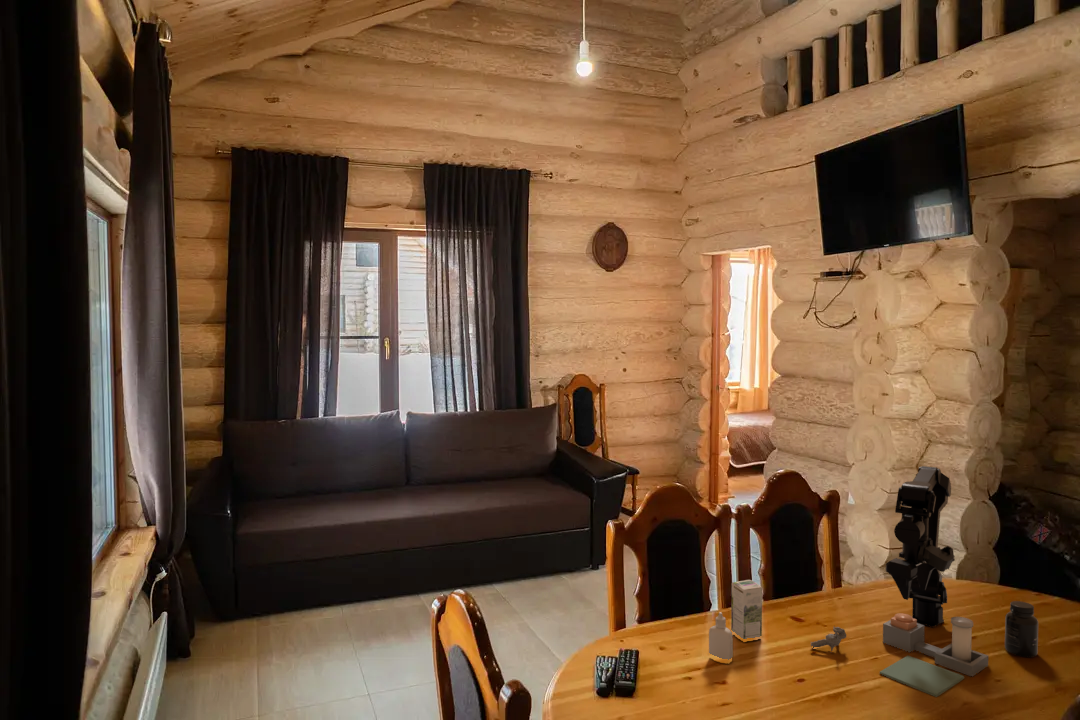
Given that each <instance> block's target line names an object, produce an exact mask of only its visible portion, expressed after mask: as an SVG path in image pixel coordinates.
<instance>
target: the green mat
mask: <svg viewBox="0 0 1080 720" xmlns="http://www.w3.org/2000/svg"><path fill="white" fill-rule="evenodd" d="M880 674H882V675H881V676H883V675H884V676H883V677H885V676H886V678H888V679H890V678H891V680H893V681H895V680H896V681H895V682H898V683H900V684H903V685H905V684H906V686H908V687H910V688H913V689H916V690H918V691H920V692H923V693H925V694H928V695H931V696H933V697H935V698H937V697H939V696H940V695H942V694H943V693H945V692H947V691H948V690H949V689H951V688H953V687H955V685H957V684H958V683H960V682H961V681H963V680H964V679H965V676H964V675H962V674H960V673H957V672H954V671H953V670H948V669H946V668H943V667H941V666H939V665H935V664H932V663H929V662H927V661H924V660H922V659H919V658H917V657H913V656H911V655H906V656H904V657H903V658H901V659H899V660H897V661H896V662H894V663H892V664H890V665H888V666H887V667H884V669H882V670H880V671H879V675H880Z"/></svg>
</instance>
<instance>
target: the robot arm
mask: <svg viewBox="0 0 1080 720" xmlns="http://www.w3.org/2000/svg"><path fill="white" fill-rule="evenodd" d="M951 495H952V484H951V479H950V477H949V476H947V475H945V474H944V473H943V472H942V471H941V468H938V467H935V466H927V465H926V466H925V465H922V466H918V471H917V472H916V474H915V477H914V478H913V480H910V481H904V482H903V483H902V485H901V486H899V487H898V490H897V497H896V502H895V511H894V512H895V514H896V513H897V514H901V519H900V520H899V521H898V523H897V524H896V525H895V527H894V529H893V532H894V536H895V538H896V539H897V540H898V541H899V542H900V543H902V551H901V552H899V553H898V557H896V558H893V559H891V560H888V561H887V562H886V563H885V572H886V573H888V575H890V576H891V578H892V579H893V582H894V583H895V585H896V586H897V588H898V591H899V593H900V594H901V597H902V598H903V600H907V601H908V600H909V599H912V612H911V613H912V614H911V616H912V618H914V619H917V623H918V624H921V625H924V626H926V627H930V628H935V627H937V626H938V625H940V624H942V623H944V621H945V619H944V607H943V606H942V605H944V604H948V593H947V588H946V585H945V582H944V581H943V575H942V574H941V572H942V573H943V572H945V571H947V570H949V569H950V568H951V566H952V563H953V562H955V561H956V560H955V555H954V548H952V547H951V546H949V545H947V546H944V547H942V548H941V547H940V546H939V536H940V524H941V523H940V521H941V512H942V510H944V508H945V507H946V506H947V505H948V502H949V498H950V497H951ZM901 558H902V559H901Z"/></svg>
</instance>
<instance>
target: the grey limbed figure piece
mask: <svg viewBox="0 0 1080 720" xmlns="http://www.w3.org/2000/svg"><path fill="white" fill-rule="evenodd" d="M832 631H833V633H828V634H826V635H825V638H823V639H819V640H817V641H816V640H815V641H810V646H811V647H812V646H813V648H814V647H819V648H821V647H825V646H829V648H830V652H831V651H832V652H833V650H834V648H835V647H837V646H840V644H841V641H842V640H843V639H846V638H847V633H846V630H845V629H844V628H841V627H839V626H835V625H834V626H833V628H832ZM813 648H812V649H813Z"/></svg>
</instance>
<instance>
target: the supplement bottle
mask: <svg viewBox="0 0 1080 720" xmlns="http://www.w3.org/2000/svg"><path fill="white" fill-rule="evenodd" d="M1034 609H1035V608H1034V605H1033V604H1031V603H1029V602H1025V601H1020V600H1012V601H1011V602H1010V607H1009V612H1007V613H1006V615H1005V619H1004V621H1005V622H1004V625H1005V627H1004V629H1005V630H1004V632H1005V633H1004V648H1005V650H1006V651H1007V652H1008V653H1010V654H1011V655H1014V656H1017V657H1022V658H1034V657H1036V656H1037V655H1038V652H1039V650H1038V648H1039V647H1038V646H1039V645H1038V644H1039V620H1038V618H1037V617H1035V615H1034V614H1035V610H1034Z"/></svg>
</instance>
